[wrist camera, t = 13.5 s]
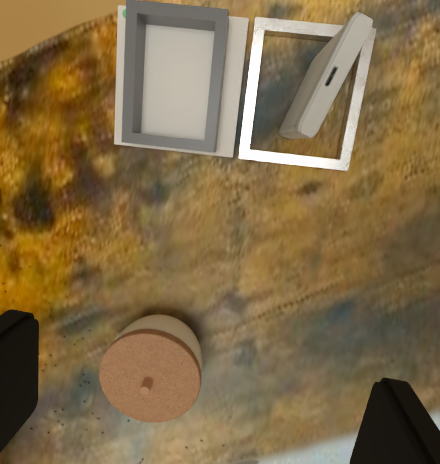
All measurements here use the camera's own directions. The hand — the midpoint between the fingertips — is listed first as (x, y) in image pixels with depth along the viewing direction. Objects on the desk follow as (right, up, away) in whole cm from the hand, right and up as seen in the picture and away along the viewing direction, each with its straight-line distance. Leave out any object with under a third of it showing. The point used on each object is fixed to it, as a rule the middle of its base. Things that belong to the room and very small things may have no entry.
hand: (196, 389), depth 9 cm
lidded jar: (-6, -9, +34) cm, 36 cm away
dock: (-3, +19, +26) cm, 33 cm away
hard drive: (+9, +18, +26) cm, 33 cm away
